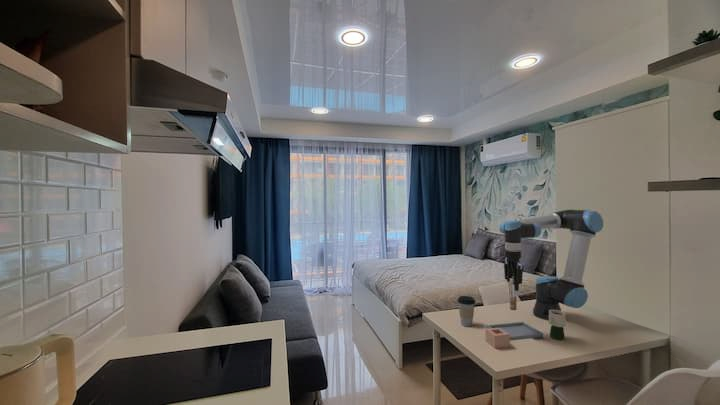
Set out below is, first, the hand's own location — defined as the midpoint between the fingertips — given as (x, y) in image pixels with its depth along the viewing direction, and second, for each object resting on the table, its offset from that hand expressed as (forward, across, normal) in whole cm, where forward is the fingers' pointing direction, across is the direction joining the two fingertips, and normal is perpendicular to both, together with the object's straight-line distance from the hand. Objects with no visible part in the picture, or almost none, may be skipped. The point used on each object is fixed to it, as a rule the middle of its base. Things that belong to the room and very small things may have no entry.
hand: (513, 295), depth 160 cm
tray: (+20, 0, 0) cm, 20 cm away
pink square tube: (+20, +10, -16) cm, 28 cm away
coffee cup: (+21, -16, -18) cm, 31 cm away
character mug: (+20, +8, +18) cm, 29 cm away
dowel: (+7, 0, 0) cm, 7 cm away
